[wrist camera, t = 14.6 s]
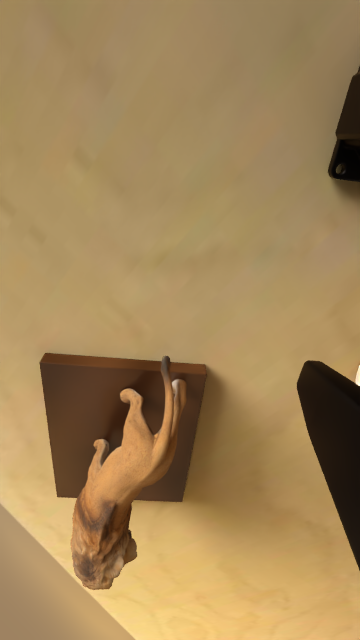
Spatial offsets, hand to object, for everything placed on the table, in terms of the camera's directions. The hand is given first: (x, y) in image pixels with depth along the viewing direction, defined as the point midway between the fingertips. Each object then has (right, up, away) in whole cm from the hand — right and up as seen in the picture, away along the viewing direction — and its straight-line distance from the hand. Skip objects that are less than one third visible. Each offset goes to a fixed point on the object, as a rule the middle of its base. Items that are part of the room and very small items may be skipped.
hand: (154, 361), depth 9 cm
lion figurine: (-3, -7, +17) cm, 18 cm away
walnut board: (-4, -9, +19) cm, 21 cm away
